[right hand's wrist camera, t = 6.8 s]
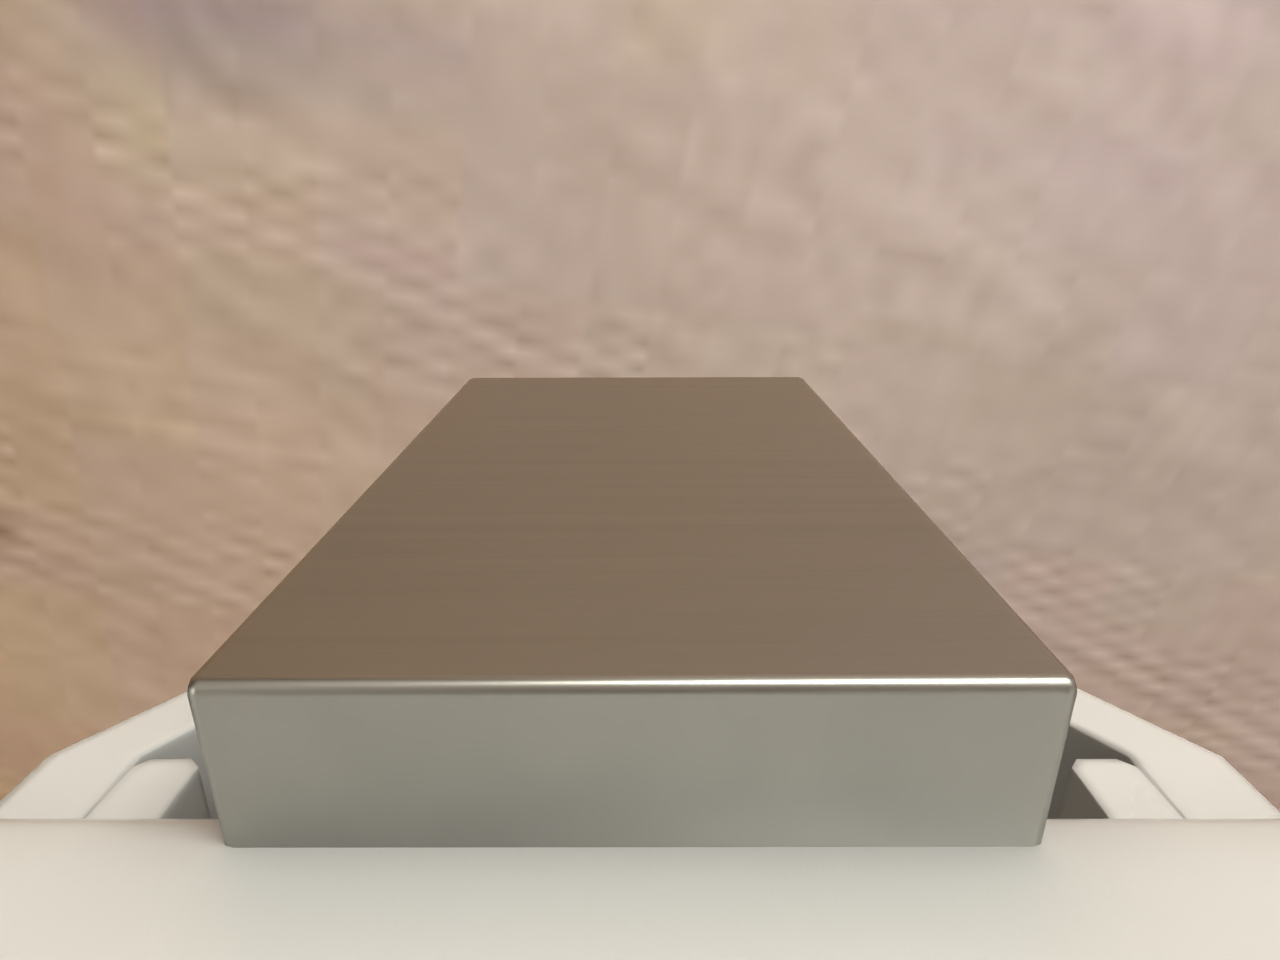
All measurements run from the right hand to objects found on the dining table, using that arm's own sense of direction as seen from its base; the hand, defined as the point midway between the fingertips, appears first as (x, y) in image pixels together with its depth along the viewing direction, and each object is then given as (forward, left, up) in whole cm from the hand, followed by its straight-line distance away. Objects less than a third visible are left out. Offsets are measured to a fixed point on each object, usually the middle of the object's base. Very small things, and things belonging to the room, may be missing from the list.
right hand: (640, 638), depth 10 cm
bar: (0, +10, -3) cm, 10 cm away
